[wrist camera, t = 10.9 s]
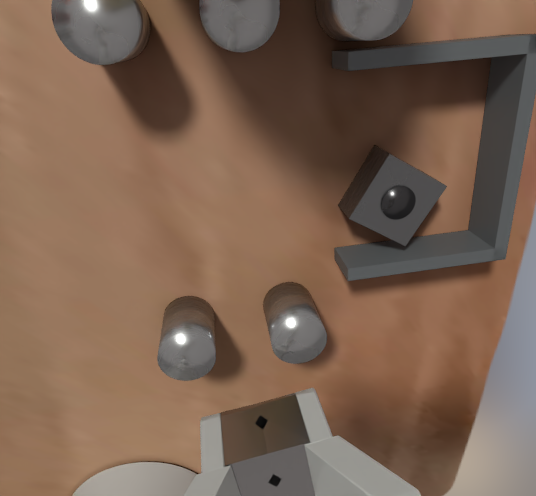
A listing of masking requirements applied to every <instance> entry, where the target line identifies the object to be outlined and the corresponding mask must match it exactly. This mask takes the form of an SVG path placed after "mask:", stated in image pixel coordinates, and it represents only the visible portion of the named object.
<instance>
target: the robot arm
mask: <svg viewBox="0 0 536 496" xmlns="http://www.w3.org/2000/svg"><path fill="white" fill-rule="evenodd" d="M200 437H201V473H200V474H196V473H194V472H192V471H190V470H188V469H185V468H182V467H179V466H176V465H172V464H166V463H158V462H138V463H130V464H124V465H120V466H116V467H113V468H110V469H107V470H104V471H102V472H100V473H98V474H96V475H94V476H92V477H91V478H89V479H88V480H86V481H85V482H84V483H83V484H82V485H81V486H80V487H79V488H78V489H77V490H76V491H75V492H74V494H73V495H72V496H421V494H420V492H419V491H418V489H416V488H415V487H413V486H412V485H410V484H409V483H408V482H406V481H405V480H403V479H402V478H400V477H399V476H397V475H396V474H394V473H393V472H391V471H390V470H389V469H387V468H386V467H384V466H383V465H381V464H380V463H378V462H377V461H375V460H374V459H373V458H371V457H370V456H368V455H367V454H365V453H364V452H362V451H361V450H359V449H358V448H356V447H355V446H354V445H352V444H351V443H349V442H348V441H346V440H345V439H343V438H342V437H340V436H339V435H338V436H334V437H333V436H332V433H331V430H330V428H329V425H328V422H327V420H326V417H325V414H324V412H323V409H322V406H321V404H320V401H319V398H318V396H317V393H316V390H315V389H314V388H310V389H306V390H303V391H299V392H296V393H293V394H289V395H285V396H282V397H278V398H275V399H271V400H267V401H264V402H260V403H258V404H253V405H249V406H245V407H241V408H237V409H233V410H229V411H225V412H221V413H218V414H214V415H210V416H206V417H202V418H201V422H200Z"/></svg>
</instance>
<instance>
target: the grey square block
mask: <svg viewBox="0 0 536 496" xmlns="http://www.w3.org/2000/svg"><path fill="white" fill-rule="evenodd" d="M446 187H447V186H446V185H444V184H442V183H441V182H439V181H437V180H436V179H434V178H432V177H431V176H429V175H427V174H425V173H424V172H422V171H420V170H418V169H416V168H415V167H413V166H411V165H409V164H408V163H406V162H404V161H402V160H401V159H399V158H397V157H395V156H393V155H392V154H390V153H388V152H386V151H385V150H383V149H381V148H379V147H378V146H376V145H374V147H373V148H372V150H371V152H370V153H369V155H368V157H367V158H366V160H365V162H364V163H363V165H362V167H361V168H360V170H359V171H358V173H357V175H356V176H355V178H354V180H353V181H352V183H351V185H350V186H349V188H348V190H347V191H346V193H345V195H344V196H343V198H342V199H341V201H340V203H339V204H338V206H339V207H340V208H341V210H342V211H343V212H344V213H345V214H346V216H347V217H348V218H349V219H351V220H353V221H355V222H357V223H359V224H361V225H363V226H365V227H367V228H369V229H371V230H373V231H375V232H377V233H379V234H381V235H383V236H385V237H387V238H389V239H392V240H394V241H396V242H398V243H400V244H402V245H404V246H406V245H407V243H408V242H409V240H410V239H411V237H412V236H413V235H414V233H415V232H416V230H417V229H418V227H419V226H420V224H421V223H422V222H423V220H424V219H425V217H426V216H427V214H428V213H429V212H430V210H431V209H432V207H433V206H434V204H435V203H436V201H437V200H438V199H439V197H440V196H441V194H442V193H443V191H444V190H445V189H446Z"/></svg>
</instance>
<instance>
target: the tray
mask: <svg viewBox="0 0 536 496" xmlns="http://www.w3.org/2000/svg"><path fill="white" fill-rule="evenodd" d="M488 57H492V58H491V66H490V73H489V81H488V88H487V95H486V103H485V110H484V117H483V125H482V132H481V140H480V147H479V154H478V162H477V169H476V177H475V184H474V191H473V199H472V206H471V214H470V221H469V228H468V230H466V231H458V232H451V233H443V234H435V235H428V236H420V237H413V238H411V239H410V240H409V242H408V243H407V245H406V246H404V245H402V244H400V243H398V242H396V241H394V240H390V241H383V242H375V243H367V244H360V245H352V246H345V247H337V248H335V261H336V262H337V264H338V266H339V267H340V269H341V270H342V272H343V274H344V275H345V277H346V279H347V280H348V281H352V280H359V279H366V278H373V277H380V276H388V275H395V274H402V273H409V272H416V271H423V270H431V269H438V268H445V267H452V266H459V265H467V264H474V263H481V262H488V261H495V260H502V259H505V258H506V253H507V247H508V242H509V236H510V231H511V225H512V220H513V214H514V209H515V203H516V198H517V193H518V187H519V182H520V176H521V171H522V165H523V160H524V154H525V149H526V143H527V138H528V132H529V127H530V121H531V116H532V110H533V105H534V99H535V94H536V34H517V35H501V36H490V37H479V38H468V39H457V40H447V41H436V42H425V43H414V44H403V45H392V46H381V47H370V48H360V49H349V50H338V51H332V68H335V69H340V70H346V71H353V70H363V69H374V68H384V67H394V66H405V65H415V64H426V63H436V62H446V61H457V60H467V59H477V58H488Z"/></svg>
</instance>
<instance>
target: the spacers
mask: <svg viewBox="0 0 536 496" xmlns="http://www.w3.org/2000/svg"><path fill="white" fill-rule="evenodd" d="M412 3H413V0H316V3H315V10H316V16H317V20H318V22H319V24H320V26H321V28H322V29H323V31H324V32H325V33H326V34H327V35H328V36H330V37H331V38H333V39H336V40H339V41H368V40H380V39H383V38H386V37H388V36H390V35H391V34H393V33H394V32H395V31H397V30H398V29H399V28H400V27H401V26H402V24H403V23H404V22H405V20H406V18H407V17H408V15H409V12H410V10H411V7H412ZM199 8H200V17H201V22H202V25H203V28H204V30H205V32H206V34H207V36H208V37H209V38H210V39H211V40H212V41H213V42H214V43H215V44H216V45H217V46H219V47H221V48H223V49H226V50H229V51H234V52H248V51H252V50H255V49H257V48H259V47H260V46H262V45H263V44H264V43H266V42H267V41H268V39H269V38H270V37H271V36H272V34H273V33H274V31H275V29H276V26H277V23H278V20H279V14H280V2H279V0H200V1H199ZM51 11H52V20H53V24H54V27H55V30H56V32H57V34H58V36H59V38H60V40H61V41H62V43H63V44H64V45H65V46H66V48H67V49H68V50H69V51H70V52H72V53H73V54H74V55H75V56H77V57H78V58H80V59H82V60H84V61H86V62H89V63H92V64H98V65H107V64H113V63H118V62H123V61H127V60H130V59H133V58H135V57H136V56H138V55H139V54H140V53H141V52H142V51H143V50H144V49H145V47H146V45H147V43H148V40H149V36H150V21H149V16H148V14H147V11H146V9H145V7H144V5H143V4H142V2H141V1H140V0H53V1H52V10H51ZM263 308H264V313H265V317H266V322H267V326H268V331H269V335H270V340H271V344H272V349H273V351H274V353H275V355H276V356H277V357H278V358H279V359H281V360H283V361H285V362H288V363H293V364H298V363H304V362H307V361H310V360H312V359H314V358H315V357H317V356H318V355H319V354H320V353H321V352H322V350H323V349H324V347H325V345H326V342H327V334H326V331H325V328H324V326H323V323H322V321H321V319H320V316H319V314H318V312H317V309H316V307H315V305H314V302H313V300H312V298H311V295H310V293H309V291H308V290H307V289H306V288H305V287H304V286H302V285H300V284H298V283H294V282H286V283H281V284H279V285H276V286H275V287H273V288H272V289H271V290H270V291H269V292H268V293H267V294H266V296H265V298H264V302H263ZM215 360H216V347H215V320H214V311H213V309H212V307H211V306H210V304H209V303H207V302H206V301H205V300H203V299H201V298H199V297H194V296H184V297H180V298H178V299H175V300H174V301H172V302H171V303H170V304H169V305H168V306H167V308H166V309H165V312H164V317H163V324H162V330H161V337H160V344H159V351H158V364H159V366H160V368H161V370H162V371H163V372H164V373H165V374H166V375H168V376H169V377H171V378H174V379H177V380H184V381H188V380H195V379H198V378H200V377H202V376H204V375H206V374H207V373H208V372H209V371H210V370H211V369H212V368H213V366H214V364H215Z"/></svg>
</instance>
